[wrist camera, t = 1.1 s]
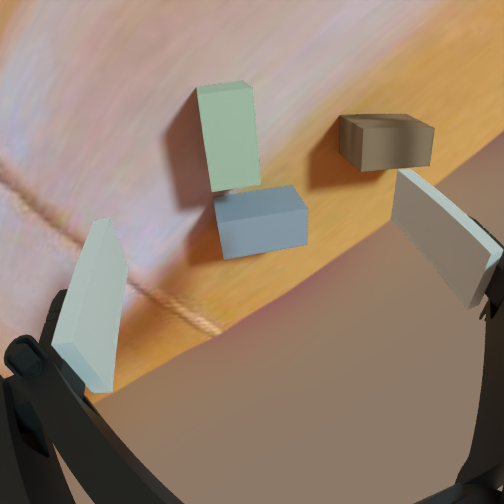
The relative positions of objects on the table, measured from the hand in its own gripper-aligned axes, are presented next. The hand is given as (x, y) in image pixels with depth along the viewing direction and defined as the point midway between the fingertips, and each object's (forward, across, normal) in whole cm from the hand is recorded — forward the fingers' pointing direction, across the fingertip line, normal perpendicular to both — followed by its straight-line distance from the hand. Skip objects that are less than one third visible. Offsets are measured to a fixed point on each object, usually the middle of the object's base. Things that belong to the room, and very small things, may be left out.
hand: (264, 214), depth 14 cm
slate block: (+17, +2, -9) cm, 19 cm away
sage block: (+17, 0, 0) cm, 17 cm away
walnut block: (+17, +15, -2) cm, 23 cm away
